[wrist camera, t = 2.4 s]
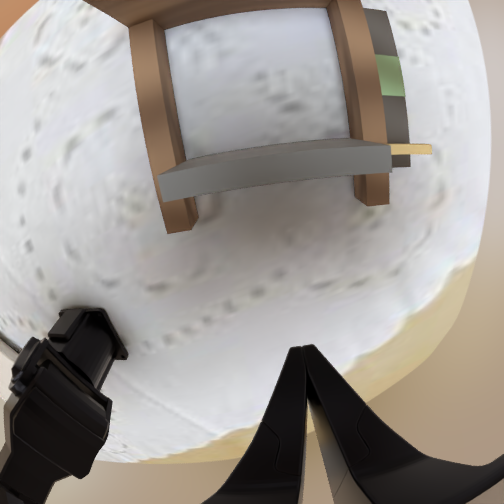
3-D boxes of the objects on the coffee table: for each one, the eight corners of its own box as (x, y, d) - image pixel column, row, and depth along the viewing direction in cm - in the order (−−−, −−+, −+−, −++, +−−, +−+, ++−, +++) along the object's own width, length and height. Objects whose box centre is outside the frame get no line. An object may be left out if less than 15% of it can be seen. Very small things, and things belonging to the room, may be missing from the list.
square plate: (-22, 360, 34) (-30, 370, 30) (-46, 278, 23) (-59, 289, 20) (64, 426, 39) (59, 439, 36) (63, 373, 29) (52, 392, 26)
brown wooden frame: (407, 192, 18) (475, 232, 10) (177, 221, 19) (133, 279, 12) (373, -17, 10) (421, -63, 3) (139, 6, 12) (84, -37, 5)
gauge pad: (413, 154, 16) (468, 170, 10) (193, 177, 17) (163, 202, 11) (412, 137, 15) (468, 147, 10) (189, 159, 16) (157, 175, 11)
